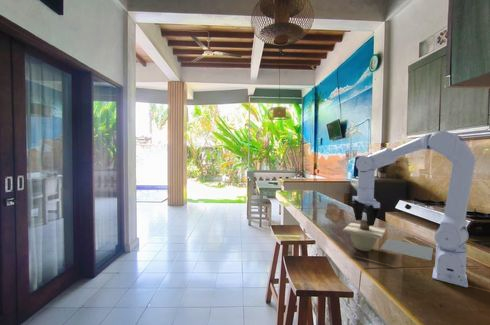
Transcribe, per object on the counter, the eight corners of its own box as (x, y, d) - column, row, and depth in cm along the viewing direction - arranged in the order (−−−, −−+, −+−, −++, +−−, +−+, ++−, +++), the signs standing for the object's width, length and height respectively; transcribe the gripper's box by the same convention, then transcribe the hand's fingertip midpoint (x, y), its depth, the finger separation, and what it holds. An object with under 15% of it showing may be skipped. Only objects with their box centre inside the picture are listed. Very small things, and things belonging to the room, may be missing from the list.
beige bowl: (381, 255, 92) (382, 236, 92) (352, 252, 94) (352, 233, 94) (373, 246, 102) (373, 228, 102) (346, 243, 104) (347, 226, 104)
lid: (380, 239, 89) (381, 228, 88) (342, 231, 96) (342, 221, 96) (386, 230, 99) (386, 221, 99) (351, 224, 107) (351, 215, 107)
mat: (431, 261, 88) (431, 260, 88) (379, 249, 98) (379, 248, 98) (433, 249, 100) (433, 248, 100) (387, 239, 110) (387, 238, 110)
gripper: (388, 190, 90) (386, 228, 91) (364, 185, 105) (362, 217, 105) (370, 190, 90) (368, 228, 90) (348, 185, 104) (346, 218, 104)
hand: (364, 222), depth 98 cm, fingers open, 7 cm apart
